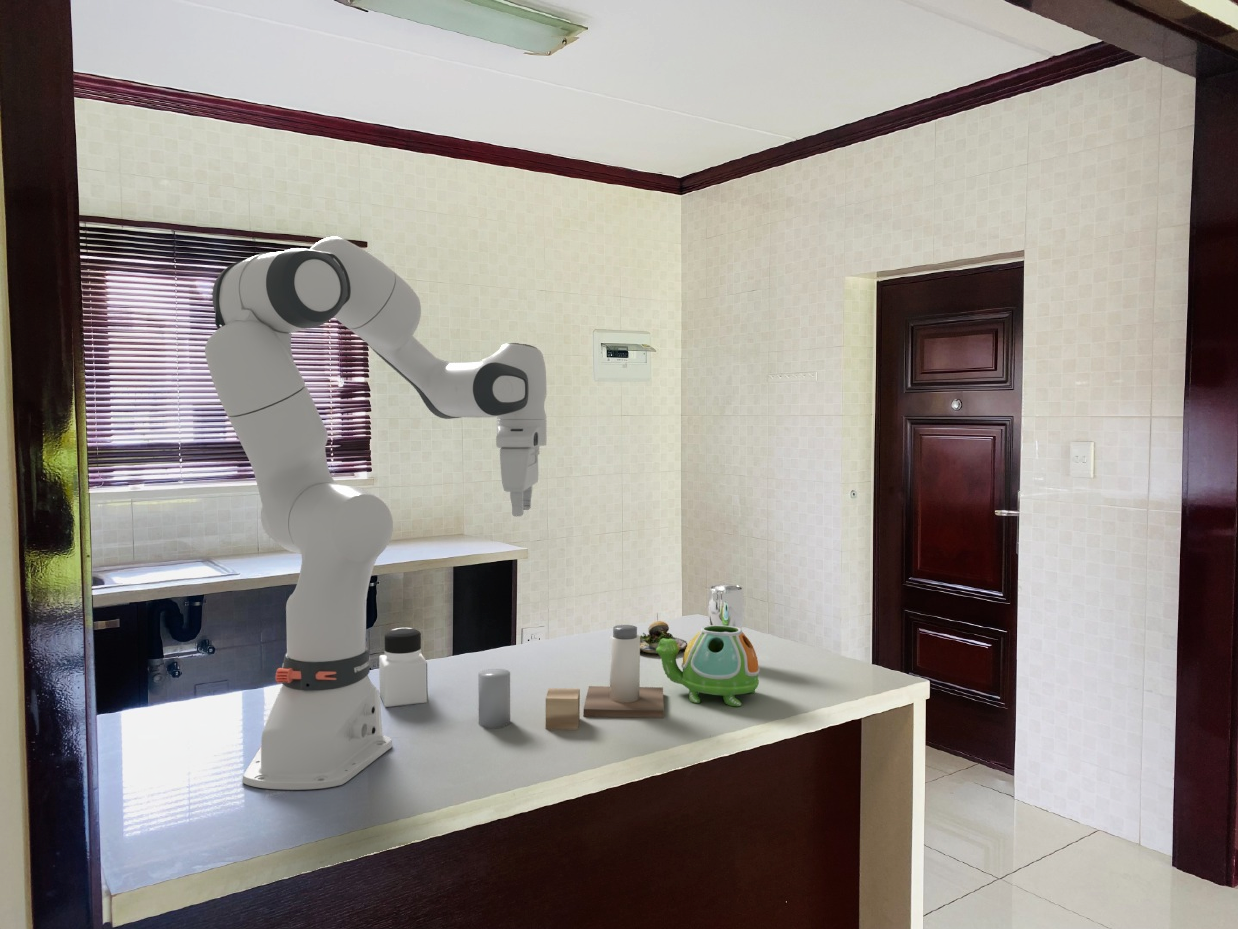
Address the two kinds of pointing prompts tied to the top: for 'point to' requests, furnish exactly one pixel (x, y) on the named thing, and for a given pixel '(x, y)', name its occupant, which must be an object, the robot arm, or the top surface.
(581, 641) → the top surface
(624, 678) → the plastic bottle
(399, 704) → the medicine bottle
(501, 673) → the grey cylinder
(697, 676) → the turtle holder
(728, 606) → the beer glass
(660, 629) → the burger
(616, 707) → the walnut board
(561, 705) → the oak block
